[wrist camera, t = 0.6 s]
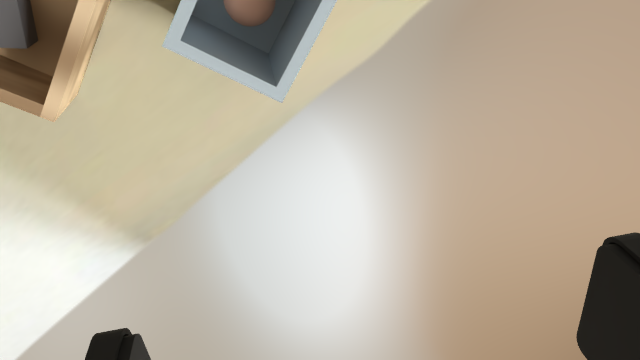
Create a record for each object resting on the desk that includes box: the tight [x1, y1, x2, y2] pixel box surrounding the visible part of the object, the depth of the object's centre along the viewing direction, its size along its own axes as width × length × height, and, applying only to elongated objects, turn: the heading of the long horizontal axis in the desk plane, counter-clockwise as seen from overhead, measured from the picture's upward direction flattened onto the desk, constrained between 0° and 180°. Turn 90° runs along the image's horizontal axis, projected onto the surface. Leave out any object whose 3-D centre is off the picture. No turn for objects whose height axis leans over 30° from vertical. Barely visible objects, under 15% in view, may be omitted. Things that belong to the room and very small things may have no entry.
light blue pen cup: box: [162, 0, 337, 103], centre depth 28 cm, size 7×7×8 cm
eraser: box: [0, 0, 38, 49], centre depth 29 cm, size 4×2×2 cm, turn 175°
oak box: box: [0, 0, 111, 122], centre depth 28 cm, size 9×9×5 cm
